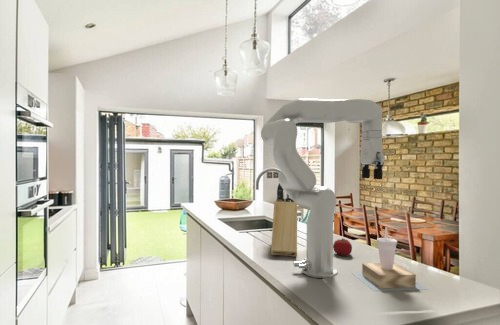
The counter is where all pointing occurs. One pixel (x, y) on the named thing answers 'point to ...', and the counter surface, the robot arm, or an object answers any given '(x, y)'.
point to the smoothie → (386, 251)
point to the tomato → (342, 247)
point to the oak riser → (388, 276)
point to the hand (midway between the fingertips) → (371, 178)
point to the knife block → (284, 226)
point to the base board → (376, 288)
